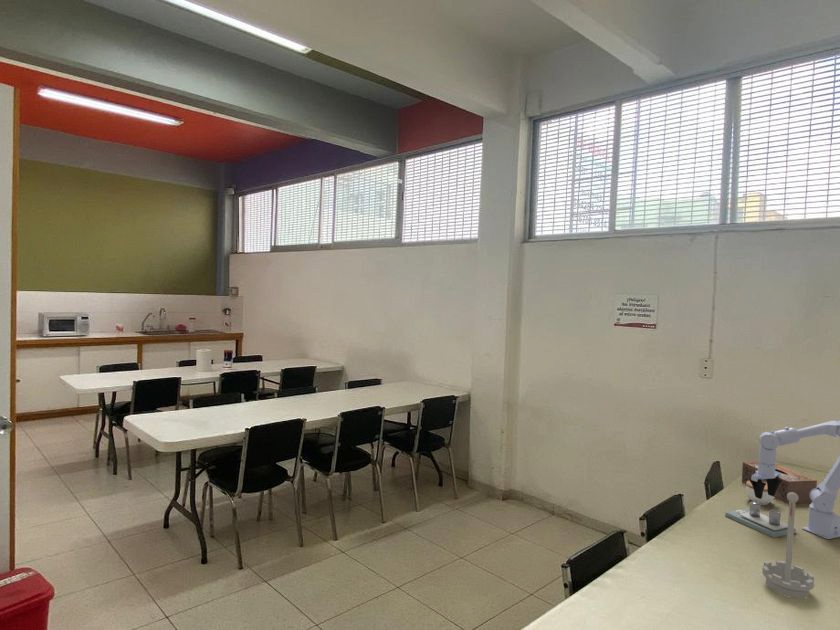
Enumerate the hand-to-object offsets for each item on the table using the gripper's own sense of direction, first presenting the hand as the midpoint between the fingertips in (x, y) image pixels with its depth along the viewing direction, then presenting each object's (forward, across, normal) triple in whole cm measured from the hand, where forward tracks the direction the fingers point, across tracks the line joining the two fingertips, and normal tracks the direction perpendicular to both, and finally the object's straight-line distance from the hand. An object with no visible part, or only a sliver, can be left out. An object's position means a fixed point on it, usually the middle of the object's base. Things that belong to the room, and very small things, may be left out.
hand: (764, 496), depth 211 cm
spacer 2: (+7, +4, +7) cm, 11 cm away
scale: (+10, +4, +1) cm, 11 cm away
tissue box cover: (+10, -38, -19) cm, 44 cm away
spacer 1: (+7, +4, -1) cm, 9 cm away
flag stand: (+10, +41, +35) cm, 55 cm away
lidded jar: (+10, -18, -14) cm, 25 cm away
